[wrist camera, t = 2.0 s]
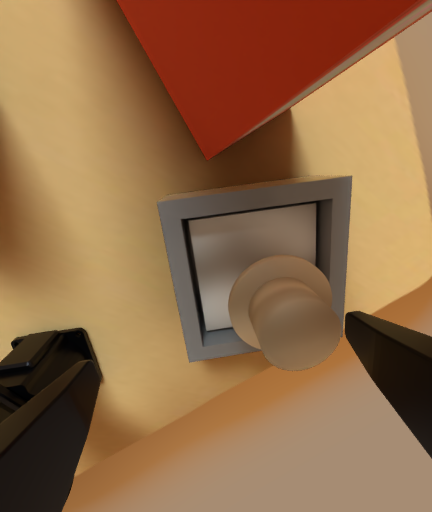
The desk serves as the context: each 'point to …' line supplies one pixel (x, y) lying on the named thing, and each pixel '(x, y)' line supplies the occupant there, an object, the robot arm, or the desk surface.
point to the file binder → (257, 54)
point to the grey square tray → (241, 200)
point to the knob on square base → (267, 283)
